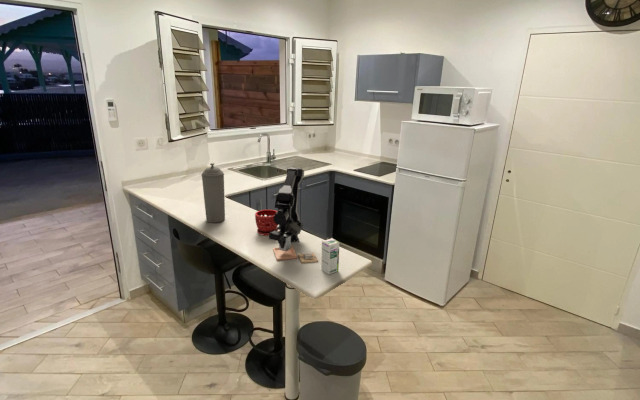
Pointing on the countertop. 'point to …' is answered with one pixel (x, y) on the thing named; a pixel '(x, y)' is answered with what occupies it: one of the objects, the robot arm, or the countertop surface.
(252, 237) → the countertop surface
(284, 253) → the tray
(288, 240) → the strut
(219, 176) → the canister
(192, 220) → the countertop surface
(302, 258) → the stud base
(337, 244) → the syrup box
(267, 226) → the plant pot
